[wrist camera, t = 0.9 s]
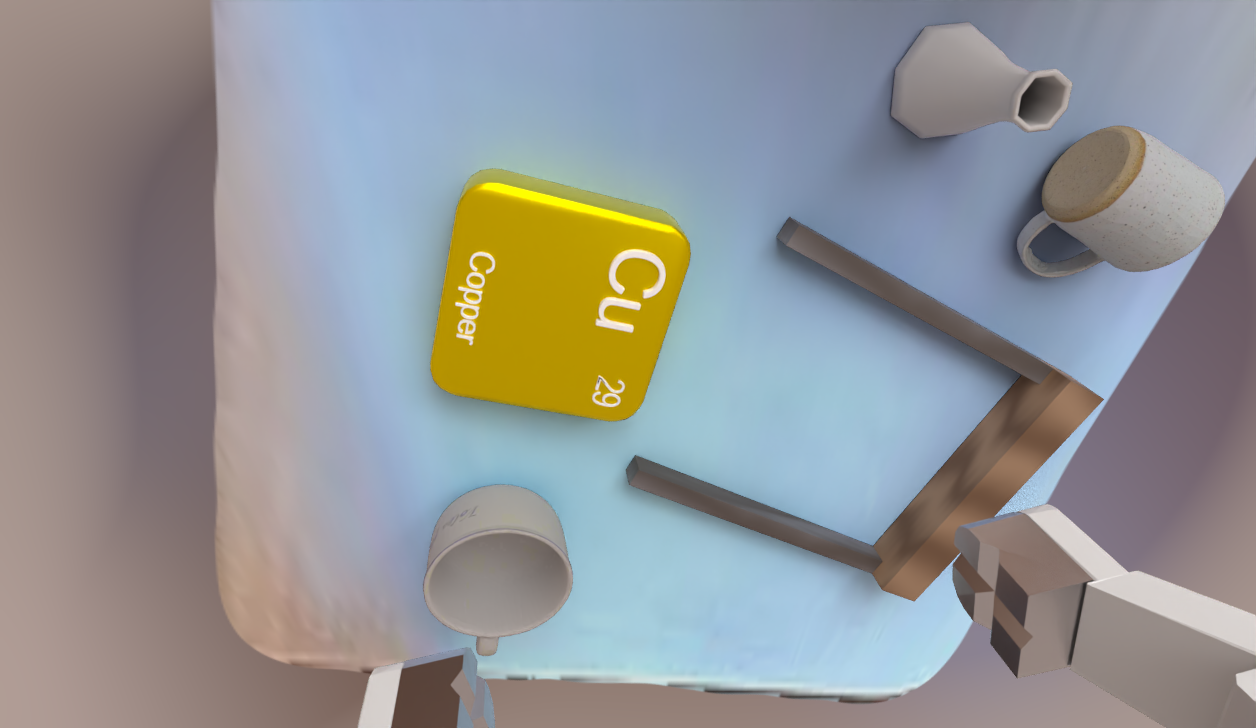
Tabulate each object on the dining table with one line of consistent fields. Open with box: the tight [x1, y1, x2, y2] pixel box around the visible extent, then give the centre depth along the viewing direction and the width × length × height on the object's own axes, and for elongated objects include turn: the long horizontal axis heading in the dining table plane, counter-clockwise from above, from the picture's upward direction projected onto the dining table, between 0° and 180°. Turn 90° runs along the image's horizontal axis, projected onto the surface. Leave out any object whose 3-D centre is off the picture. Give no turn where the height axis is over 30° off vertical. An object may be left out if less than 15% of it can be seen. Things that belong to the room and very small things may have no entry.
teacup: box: [423, 485, 573, 656], centre depth 54 cm, size 14×11×8 cm
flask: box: [891, 22, 1073, 139], centre depth 40 cm, size 7×7×10 cm
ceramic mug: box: [1017, 126, 1225, 277], centre depth 46 cm, size 11×8×8 cm
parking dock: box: [626, 217, 1104, 601], centre depth 55 cm, size 24×30×4 cm
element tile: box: [430, 169, 691, 421], centre depth 46 cm, size 15×15×5 cm
